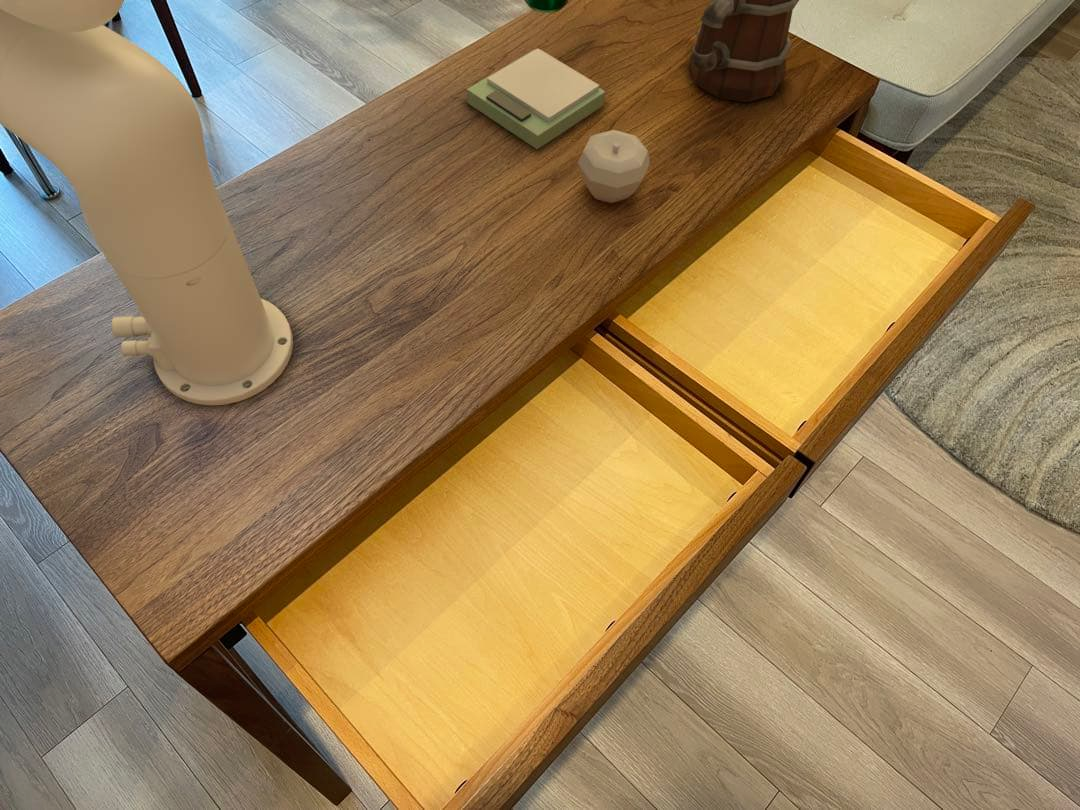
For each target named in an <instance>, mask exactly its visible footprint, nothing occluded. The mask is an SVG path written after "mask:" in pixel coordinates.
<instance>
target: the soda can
mask: <svg viewBox="0 0 1080 810" xmlns="http://www.w3.org/2000/svg"><path fill="white" fill-rule="evenodd" d="M523 1H524V3H525V4H526V5H527V6H528V8H529V9H531V10H533V11H534V12H537V13H541V14H552V13H558V12H559V11H562V9H564V8H565V6H566V5H568V3H569V1H570V0H523Z"/></svg>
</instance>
